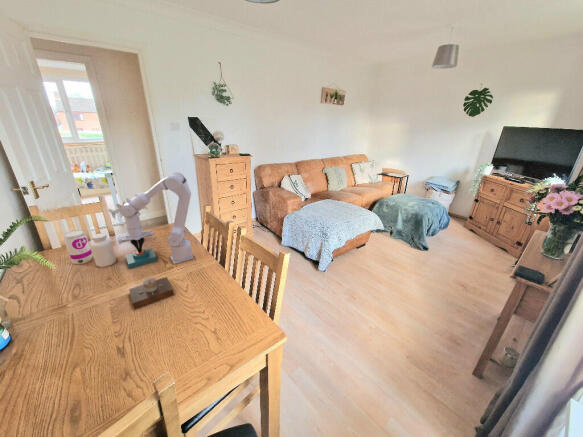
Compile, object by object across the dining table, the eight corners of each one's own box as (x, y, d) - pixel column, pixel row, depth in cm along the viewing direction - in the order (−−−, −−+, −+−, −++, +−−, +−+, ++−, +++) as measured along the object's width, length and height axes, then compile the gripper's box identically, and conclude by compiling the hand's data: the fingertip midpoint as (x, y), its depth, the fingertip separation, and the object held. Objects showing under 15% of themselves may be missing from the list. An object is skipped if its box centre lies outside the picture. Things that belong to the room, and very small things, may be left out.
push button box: (153, 252, 127) (151, 245, 126) (157, 261, 120) (155, 253, 118) (126, 259, 120) (124, 251, 119) (129, 269, 113) (127, 260, 111)
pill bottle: (120, 259, 120) (113, 232, 115) (107, 268, 113) (99, 240, 107) (105, 257, 121) (97, 231, 115) (92, 266, 114) (82, 238, 108)
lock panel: (167, 282, 105) (166, 276, 104) (174, 294, 98) (172, 288, 97) (130, 295, 97) (128, 288, 96) (134, 309, 90) (132, 303, 89)
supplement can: (96, 259, 119) (87, 232, 114) (76, 266, 113) (65, 238, 107) (89, 254, 123) (80, 228, 118) (69, 261, 117) (59, 234, 111)
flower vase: (113, 243, 134) (101, 201, 124) (147, 232, 148) (138, 194, 139) (124, 251, 127) (113, 207, 118) (158, 238, 142) (150, 198, 132)
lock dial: (144, 287, 97) (142, 278, 95) (156, 284, 99) (155, 275, 98) (144, 293, 94) (142, 285, 92) (157, 290, 96) (155, 281, 94)
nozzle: (144, 252, 121) (143, 249, 121) (145, 255, 119) (144, 252, 118) (135, 254, 119) (135, 251, 119) (137, 257, 117) (136, 254, 116)
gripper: (116, 234, 106) (123, 260, 111) (153, 226, 115) (158, 250, 120) (114, 228, 111) (121, 253, 116) (150, 221, 120) (154, 245, 125)
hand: (140, 251), depth 118 cm, fingers closed, pressing on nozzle
